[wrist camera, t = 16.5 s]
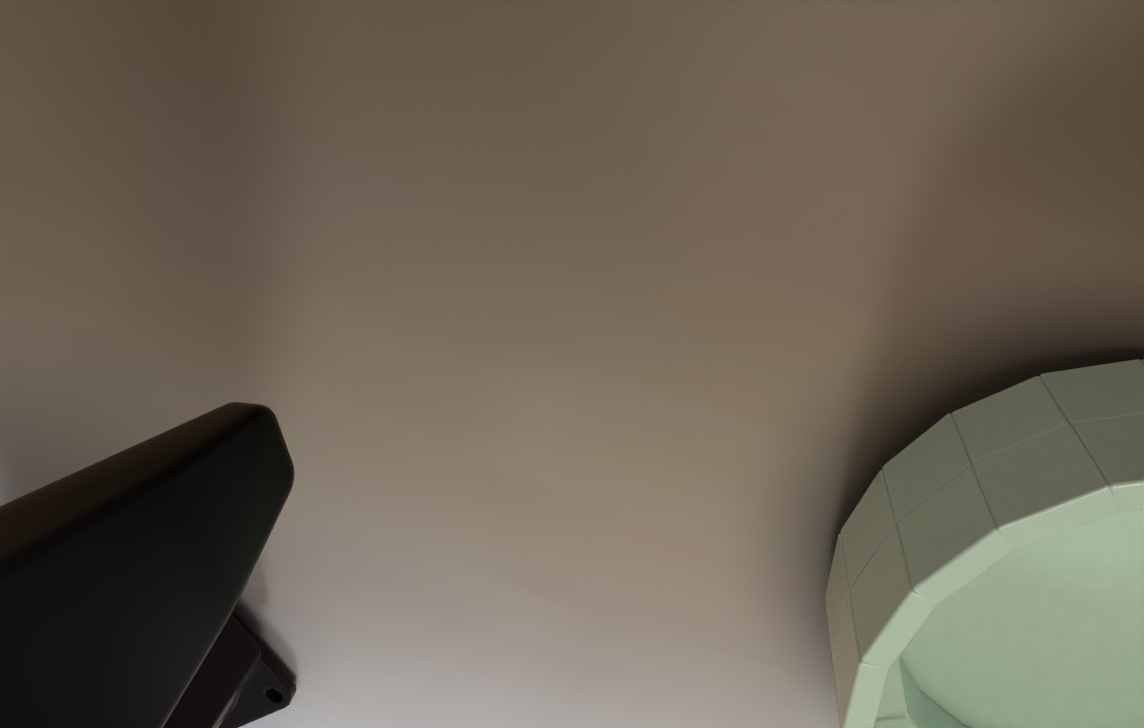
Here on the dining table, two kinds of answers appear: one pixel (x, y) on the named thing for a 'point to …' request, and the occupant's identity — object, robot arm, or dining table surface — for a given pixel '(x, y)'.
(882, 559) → the basin
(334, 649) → the dining table surface
